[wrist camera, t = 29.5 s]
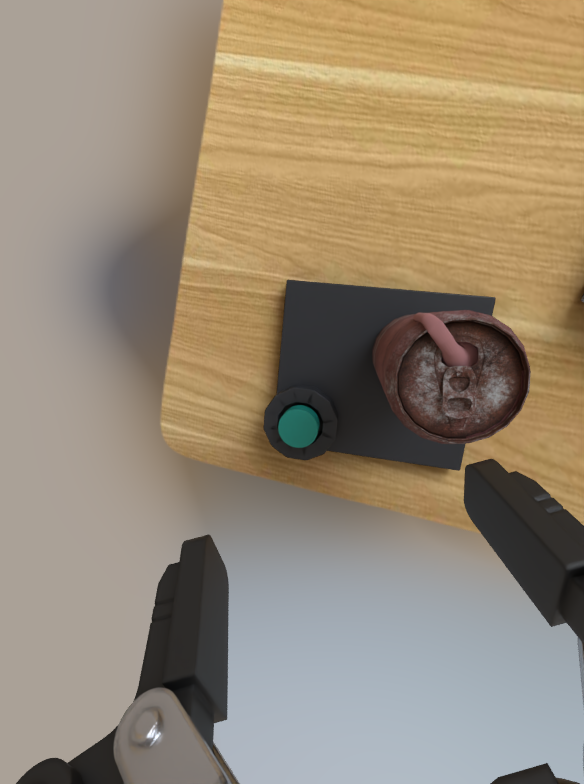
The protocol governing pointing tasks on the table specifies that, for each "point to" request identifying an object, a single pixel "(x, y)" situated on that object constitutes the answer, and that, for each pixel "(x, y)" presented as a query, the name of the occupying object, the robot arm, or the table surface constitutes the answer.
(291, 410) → the button
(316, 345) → the scale
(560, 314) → the table surface
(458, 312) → the can
